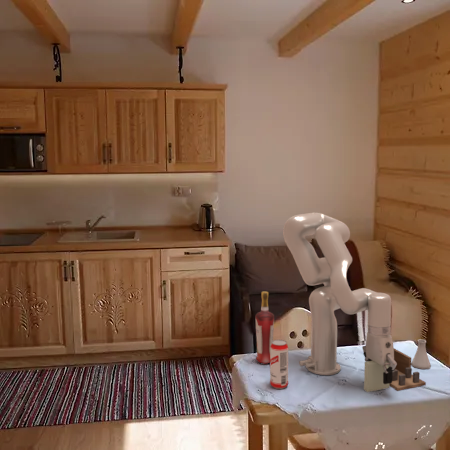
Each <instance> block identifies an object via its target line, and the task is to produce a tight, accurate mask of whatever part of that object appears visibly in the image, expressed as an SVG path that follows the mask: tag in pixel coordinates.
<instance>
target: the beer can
mask: <svg viewBox="0 0 450 450" xmlns="http://www.w3.org/2000/svg"><path fill="white" fill-rule="evenodd" d="M287 343H288V342H287V341H286V340H285V339H273V341H272V344H271V347H270V363H269V365H270V366H269V369H270V370H269V371H270V372H269V373H270V375H269V380H270V381H269V384H270V386H271V387H272V388H273V389H277V390H283V389H286V388H287V387H288V385H289V346H288V344H287Z"/></svg>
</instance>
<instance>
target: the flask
mask: <svg viewBox="0 0 450 450" xmlns="http://www.w3.org/2000/svg"><path fill="white" fill-rule="evenodd" d="M426 344H427V340H426V339H421V338H420V339H417V349H416V350H415V351H416V352H415V354H414V357H413V358H412V360H411V367H413V368H415V369H416V368H417V369H420V370H430V369H431V366H432V365H431V361H430V359H429V356H428V352H427V350H426V347H427V346H426Z"/></svg>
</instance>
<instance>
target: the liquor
mask: <svg viewBox="0 0 450 450" xmlns="http://www.w3.org/2000/svg"><path fill="white" fill-rule="evenodd" d="M260 295H261V296H260V297H261V304H260V305H261V307H260V311H258V312H257V313H256V314H255V316H254V317H255V336H256V357H255V360H256V361H257V362H258V363H259V364H261V363H262V364H261V365H268V363H269V364H270V347H271V344H272V341H274V332H275V331H274V330H275V325H274V324H275V314H274V313H273V312H271V311H269V291H261V294H260Z"/></svg>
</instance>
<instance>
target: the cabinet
mask: <svg viewBox="0 0 450 450" xmlns="http://www.w3.org/2000/svg"><path fill="white" fill-rule="evenodd" d="M394 360H395V361H396V363H397V365H396V367H395V370H394V371H393V372H392V383H390V384H389V387H391V388H392V389H394V390H396V391H397V392H398V391H403V390H408V389H413V388H417V387H423V386H426V384H427V382H426V381H424V380H422V379H421V378H420V372H419V371H414V372H412V371H413V369H412V365H411V363H412V357H411V356H409V355H408V354H405V353H403V352H401V351H399V350H398V349H396V348H394ZM372 361H373V360H372Z"/></svg>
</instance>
